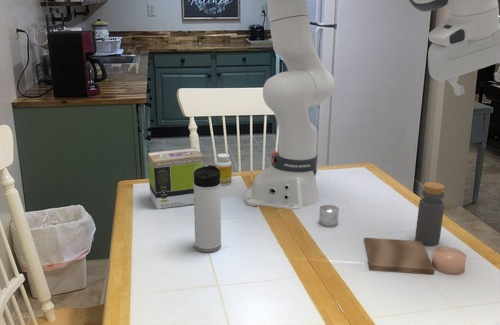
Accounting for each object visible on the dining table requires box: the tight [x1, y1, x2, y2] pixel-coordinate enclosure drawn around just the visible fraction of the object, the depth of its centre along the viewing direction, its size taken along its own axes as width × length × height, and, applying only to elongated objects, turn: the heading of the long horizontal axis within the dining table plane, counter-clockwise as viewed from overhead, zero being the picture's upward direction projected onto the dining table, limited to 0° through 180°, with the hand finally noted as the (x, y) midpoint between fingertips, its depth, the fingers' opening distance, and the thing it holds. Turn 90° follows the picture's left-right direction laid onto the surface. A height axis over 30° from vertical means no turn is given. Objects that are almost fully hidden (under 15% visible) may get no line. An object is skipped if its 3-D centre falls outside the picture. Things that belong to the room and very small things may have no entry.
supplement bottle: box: [214, 153, 233, 186], centre depth 166 cm, size 5×5×10 cm
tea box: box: [147, 147, 206, 210], centre depth 150 cm, size 15×10×15 cm, turn 111°
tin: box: [318, 204, 340, 228], centre depth 136 cm, size 5×5×5 cm
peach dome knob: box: [431, 246, 467, 276], centre depth 116 cm, size 7×7×4 cm
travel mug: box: [193, 164, 222, 254], centre depth 122 cm, size 6×7×20 cm
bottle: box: [414, 181, 445, 247], centre depth 127 cm, size 6×6×15 cm
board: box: [363, 237, 435, 275], centre depth 120 cm, size 14×14×1 cm
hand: (479, 87), depth 109 cm, fingers open, 8 cm apart
